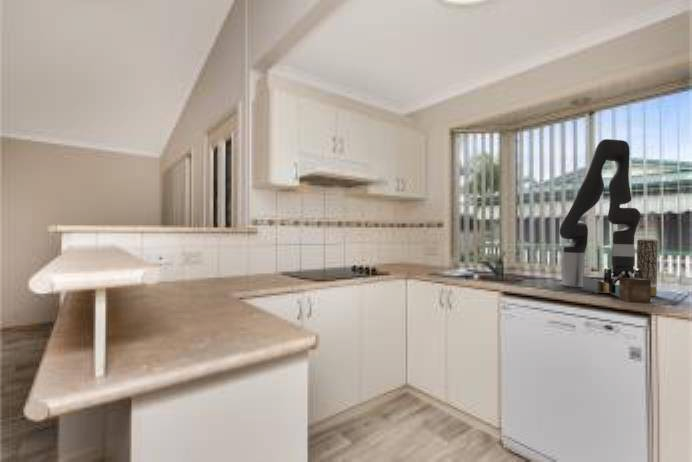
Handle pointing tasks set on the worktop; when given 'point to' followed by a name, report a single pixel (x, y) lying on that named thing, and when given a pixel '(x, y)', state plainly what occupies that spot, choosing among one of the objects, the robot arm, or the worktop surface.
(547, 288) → the worktop surface
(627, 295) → the socket block
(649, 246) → the bark textured post
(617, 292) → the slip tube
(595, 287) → the grey multicoloured box
